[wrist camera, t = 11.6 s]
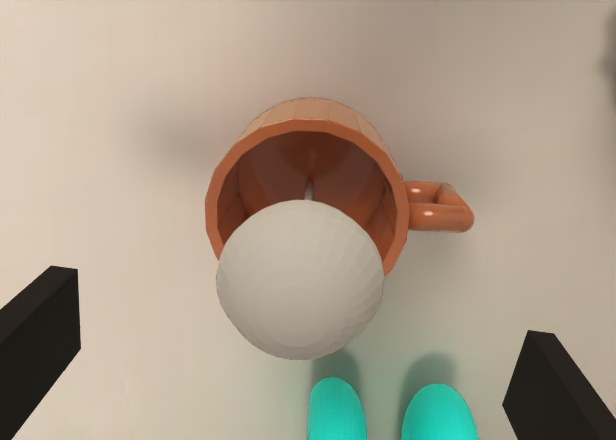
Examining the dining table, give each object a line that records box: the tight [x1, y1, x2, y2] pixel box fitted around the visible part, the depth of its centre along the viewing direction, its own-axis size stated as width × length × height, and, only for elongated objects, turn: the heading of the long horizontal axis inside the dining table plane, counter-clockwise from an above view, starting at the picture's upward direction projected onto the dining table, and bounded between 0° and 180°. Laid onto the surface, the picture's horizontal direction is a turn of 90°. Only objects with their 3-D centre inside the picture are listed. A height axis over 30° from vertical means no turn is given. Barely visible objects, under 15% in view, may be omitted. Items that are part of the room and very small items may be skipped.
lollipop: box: [216, 181, 384, 360], centre depth 23 cm, size 6×6×15 cm
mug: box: [205, 98, 474, 276], centre depth 28 cm, size 13×10×7 cm
